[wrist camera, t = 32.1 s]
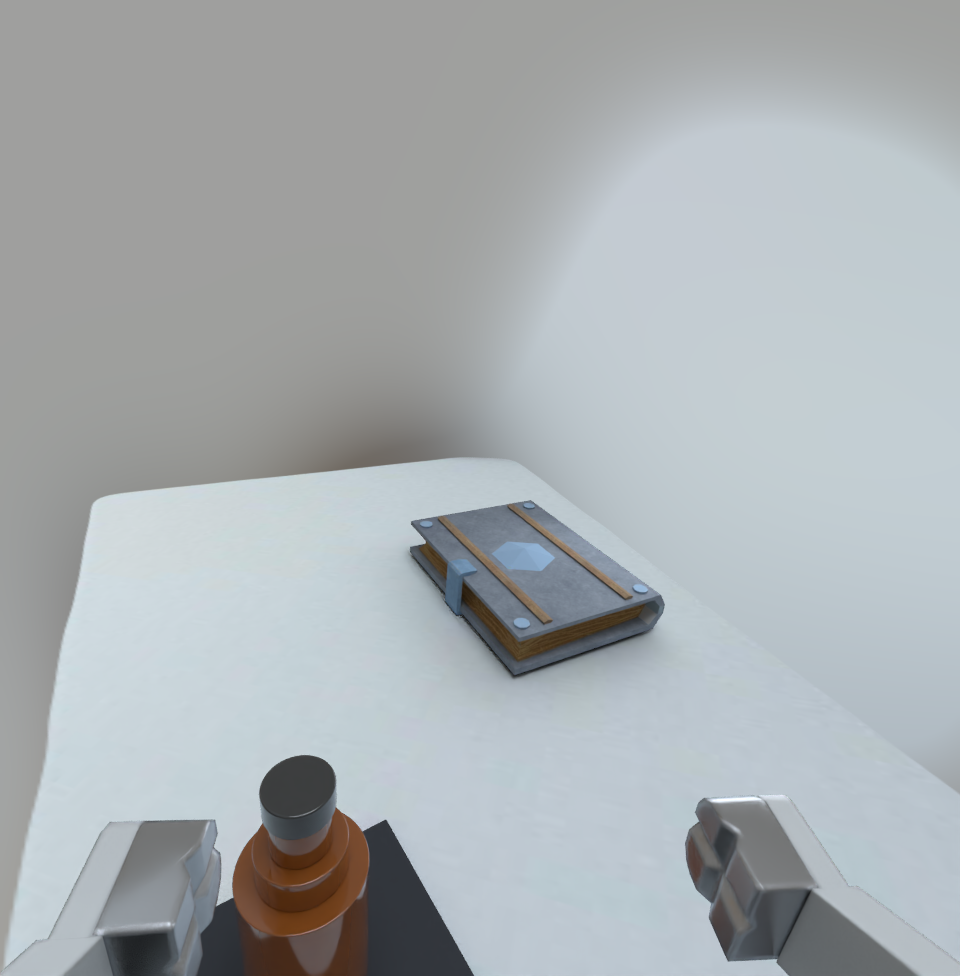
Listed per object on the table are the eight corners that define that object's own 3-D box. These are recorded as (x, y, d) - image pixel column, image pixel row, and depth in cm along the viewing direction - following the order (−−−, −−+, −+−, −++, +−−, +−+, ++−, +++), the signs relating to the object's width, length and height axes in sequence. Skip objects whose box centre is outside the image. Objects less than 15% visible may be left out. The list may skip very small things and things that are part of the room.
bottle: (269, 1099, 24) (242, 882, 19) (236, 972, 28) (206, 762, 22) (387, 1016, 27) (394, 807, 21) (342, 911, 31) (338, 711, 25)
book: (658, 629, 56) (669, 584, 54) (509, 680, 48) (516, 630, 46) (532, 530, 72) (537, 492, 70) (406, 555, 64) (407, 514, 62)
